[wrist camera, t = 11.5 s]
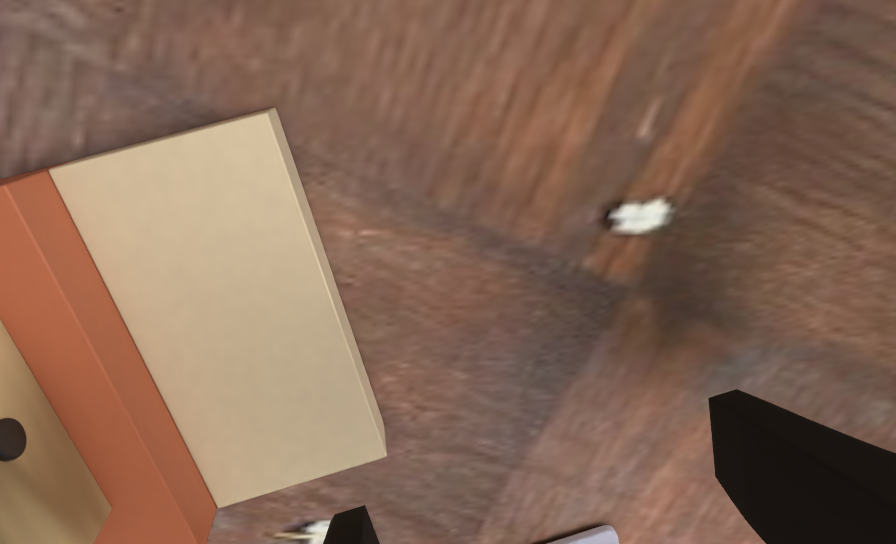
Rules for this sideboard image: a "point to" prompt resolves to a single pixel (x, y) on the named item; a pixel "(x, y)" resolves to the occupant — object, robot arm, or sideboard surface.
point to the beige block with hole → (40, 465)
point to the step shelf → (185, 325)
